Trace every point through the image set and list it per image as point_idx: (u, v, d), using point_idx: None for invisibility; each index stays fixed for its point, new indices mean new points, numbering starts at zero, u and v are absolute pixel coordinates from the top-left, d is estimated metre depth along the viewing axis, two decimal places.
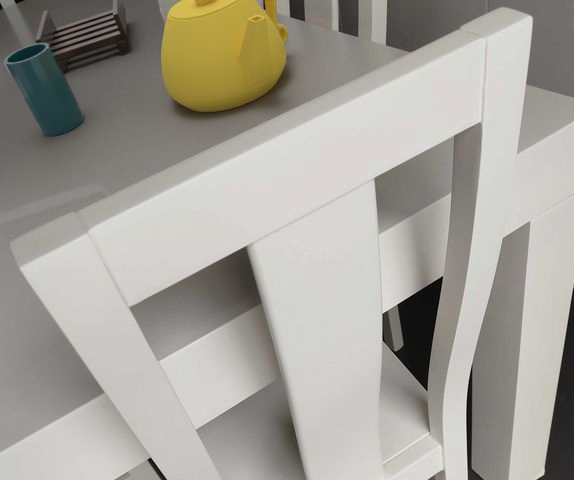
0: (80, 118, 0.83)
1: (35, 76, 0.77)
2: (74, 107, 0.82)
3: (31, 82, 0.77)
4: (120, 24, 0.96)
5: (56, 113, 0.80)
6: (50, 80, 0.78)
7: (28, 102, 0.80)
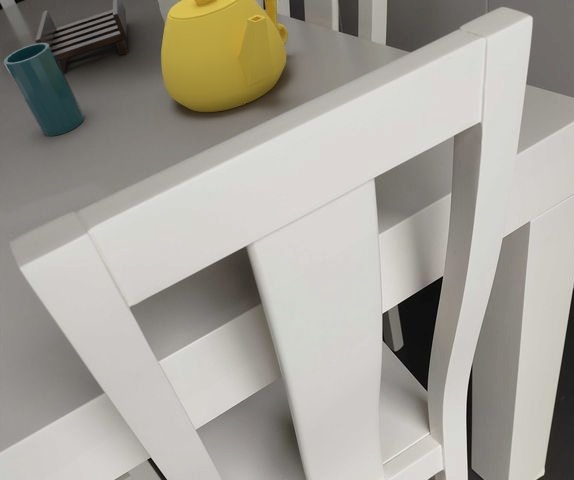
0: (80, 118, 0.83)
1: (35, 76, 0.77)
2: (74, 107, 0.82)
3: (31, 82, 0.77)
4: (120, 24, 0.96)
5: (56, 113, 0.80)
6: (50, 80, 0.78)
7: (28, 102, 0.80)
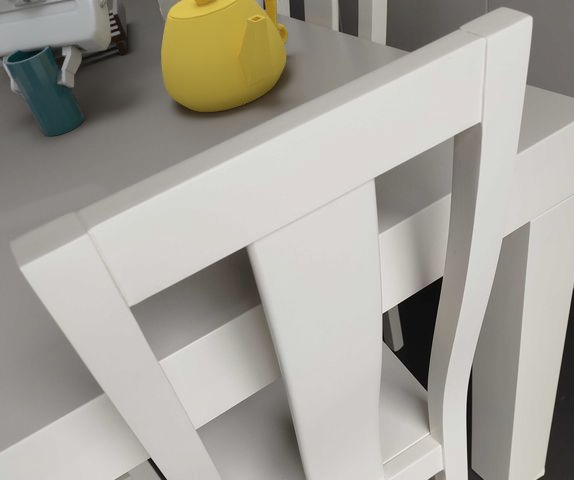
0: (80, 118, 0.83)
1: (35, 76, 0.77)
2: (74, 107, 0.82)
3: (31, 82, 0.77)
4: (120, 24, 0.96)
5: (56, 113, 0.80)
6: (50, 80, 0.78)
7: (28, 102, 0.80)
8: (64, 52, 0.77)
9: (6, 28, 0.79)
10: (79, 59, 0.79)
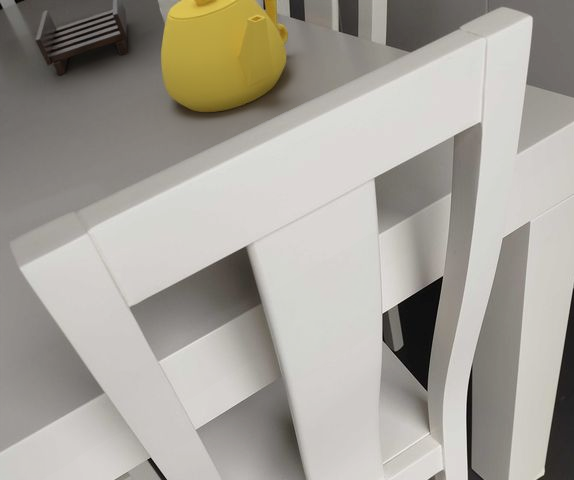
0: None
1: None
2: None
3: None
4: (120, 24, 0.96)
5: None
6: None
7: None
8: None
9: None
10: None
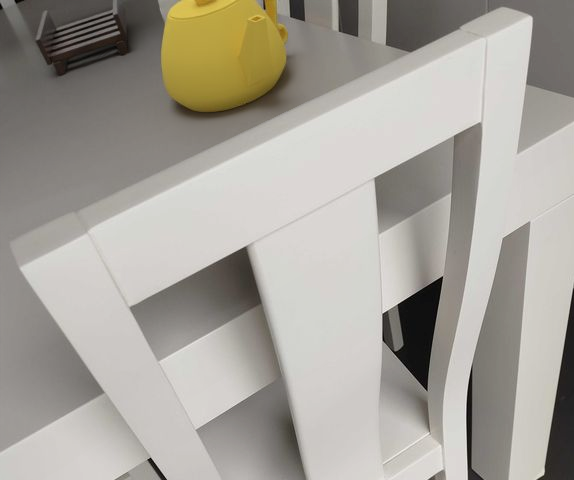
0: None
1: None
2: None
3: None
4: (120, 24, 0.96)
5: None
6: None
7: None
8: None
9: None
10: None
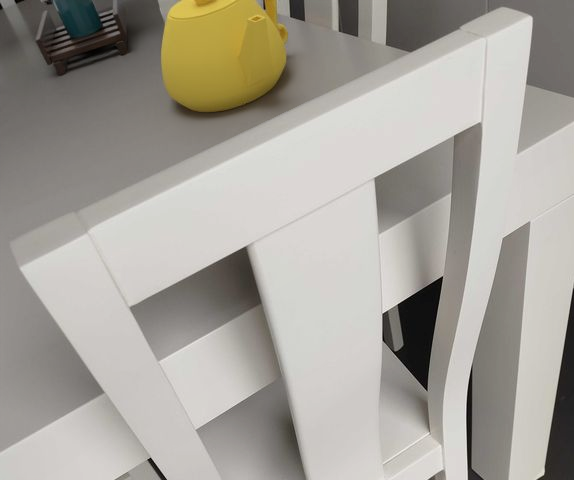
0: (100, 24, 1.02)
1: None
2: (95, 14, 1.01)
3: None
4: (120, 24, 0.96)
5: (81, 17, 0.99)
6: None
7: (58, 7, 0.98)
8: None
9: None
10: None
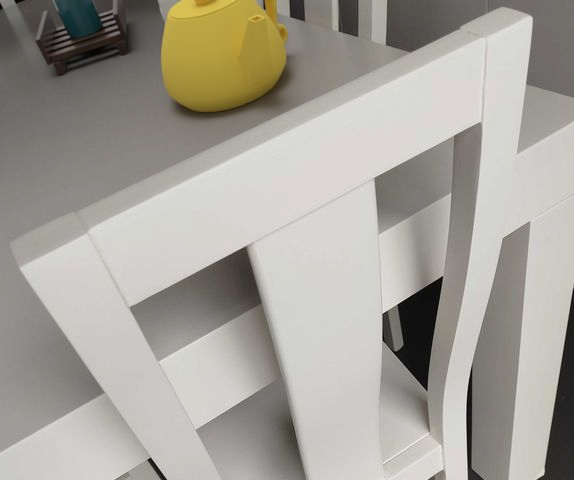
0: (100, 24, 1.02)
1: None
2: (95, 14, 1.01)
3: None
4: (120, 24, 0.96)
5: (81, 17, 0.99)
6: None
7: (58, 7, 0.98)
8: None
9: None
10: None
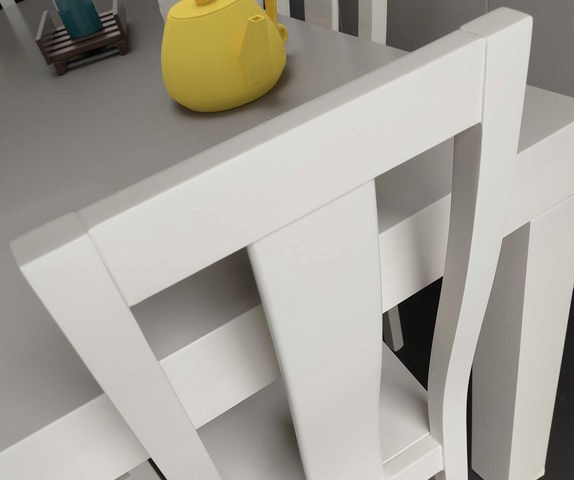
0: (100, 24, 1.02)
1: None
2: (95, 14, 1.01)
3: None
4: (120, 24, 0.96)
5: (81, 17, 0.99)
6: None
7: (58, 7, 0.98)
8: None
9: None
10: None
